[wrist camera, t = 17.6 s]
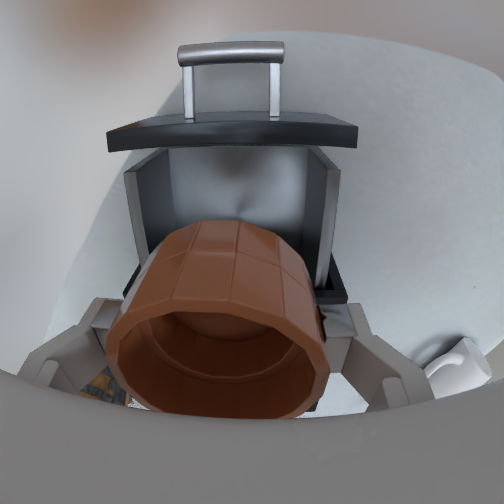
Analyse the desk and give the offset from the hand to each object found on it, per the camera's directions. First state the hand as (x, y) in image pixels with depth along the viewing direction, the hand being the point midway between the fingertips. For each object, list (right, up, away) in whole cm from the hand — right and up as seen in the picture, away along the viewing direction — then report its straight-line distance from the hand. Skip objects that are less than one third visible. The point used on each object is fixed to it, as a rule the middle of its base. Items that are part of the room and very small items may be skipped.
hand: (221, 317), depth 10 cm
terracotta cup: (0, +1, +1) cm, 2 cm away
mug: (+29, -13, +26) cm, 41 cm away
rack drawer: (0, +9, +12) cm, 15 cm away
